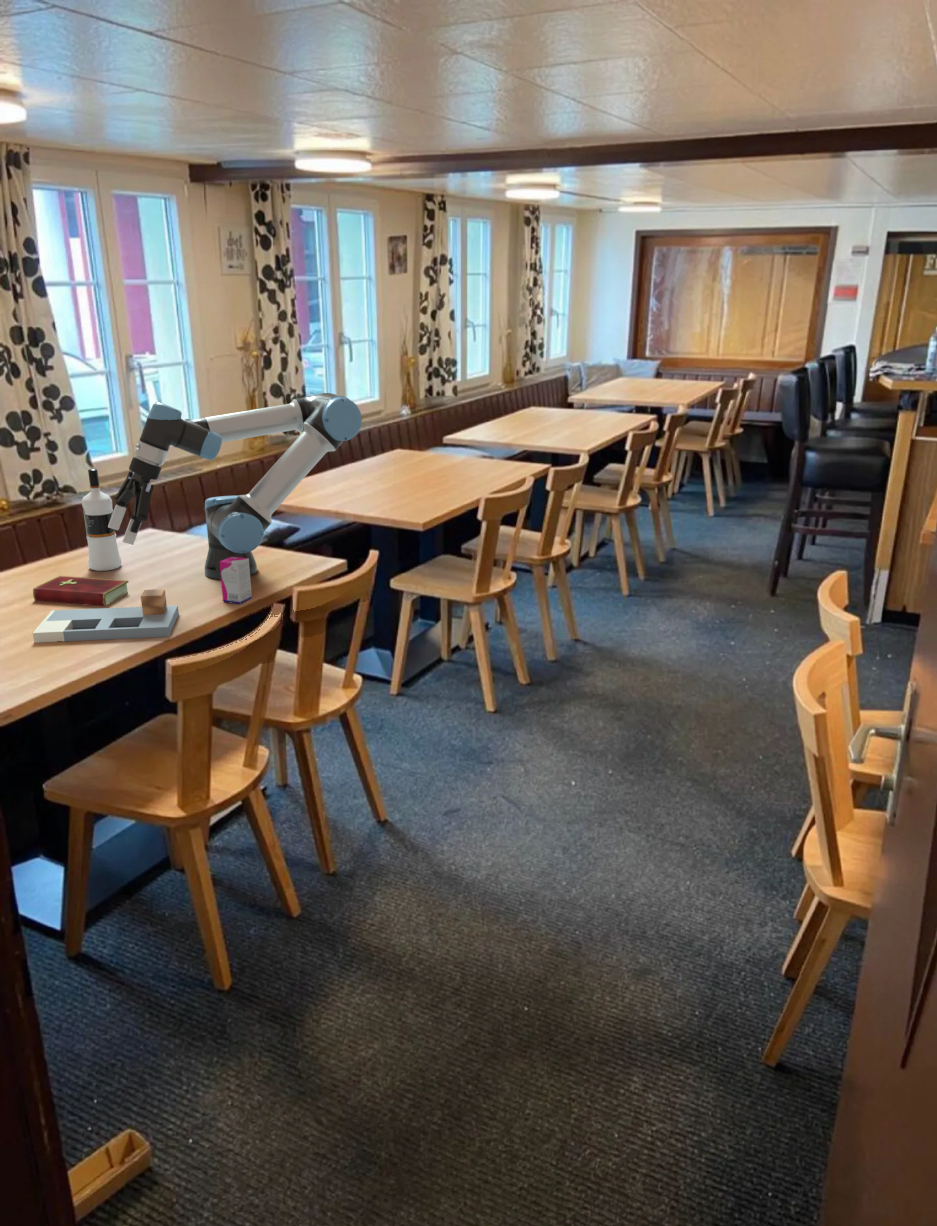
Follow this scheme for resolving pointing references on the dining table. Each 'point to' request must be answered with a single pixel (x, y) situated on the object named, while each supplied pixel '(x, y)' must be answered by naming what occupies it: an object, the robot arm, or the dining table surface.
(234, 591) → the supplement box
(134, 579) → the dining table surface
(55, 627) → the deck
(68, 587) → the hardcover book
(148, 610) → the block
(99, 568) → the vodka
